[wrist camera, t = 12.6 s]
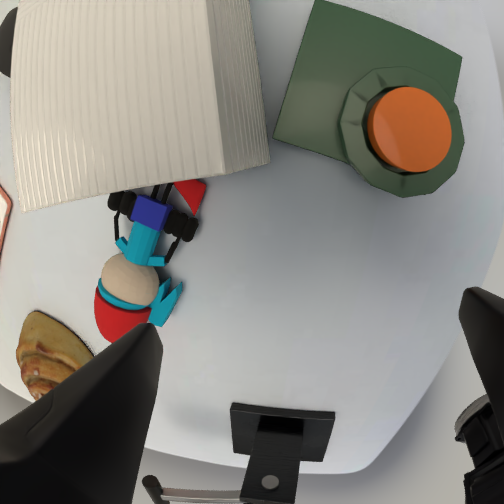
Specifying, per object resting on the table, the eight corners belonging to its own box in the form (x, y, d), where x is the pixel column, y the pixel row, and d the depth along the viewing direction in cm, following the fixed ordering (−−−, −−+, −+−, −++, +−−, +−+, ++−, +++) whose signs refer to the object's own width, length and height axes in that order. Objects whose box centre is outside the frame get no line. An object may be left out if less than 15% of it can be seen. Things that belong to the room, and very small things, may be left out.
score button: (447, 112, 14) (460, 109, 12) (426, 181, 15) (438, 185, 14) (378, 80, 14) (385, 73, 12) (357, 152, 16) (362, 152, 14)
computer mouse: (33, 89, 21) (3, 88, 18) (-1, 50, 20) (-26, 47, 17) (65, 34, 19) (36, 26, 15) (25, 3, 18) (1, -3, 14)
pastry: (117, 421, 34) (89, 463, 26) (34, 368, 35) (2, 398, 27) (120, 356, 29) (78, 405, 22) (24, 296, 30) (-21, 326, 22)
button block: (457, 67, 15) (483, 55, 11) (419, 202, 19) (440, 215, 15) (315, 11, 16) (315, -15, 12) (273, 148, 20) (264, 148, 16)
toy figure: (138, 154, 23) (93, 311, 26) (110, 148, 18) (65, 333, 21) (223, 186, 23) (164, 347, 27) (212, 186, 19) (146, 376, 22)
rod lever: (156, 493, 22) (154, 512, 20) (144, 469, 21) (139, 491, 18) (281, 494, 23) (284, 513, 21) (285, 471, 21) (288, 493, 19)
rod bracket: (235, 446, 31) (212, 515, 21) (232, 402, 28) (202, 482, 19) (322, 455, 29) (316, 528, 20) (335, 412, 26) (333, 498, 17)
